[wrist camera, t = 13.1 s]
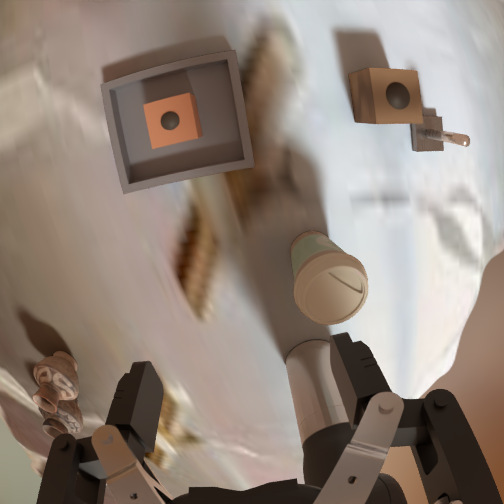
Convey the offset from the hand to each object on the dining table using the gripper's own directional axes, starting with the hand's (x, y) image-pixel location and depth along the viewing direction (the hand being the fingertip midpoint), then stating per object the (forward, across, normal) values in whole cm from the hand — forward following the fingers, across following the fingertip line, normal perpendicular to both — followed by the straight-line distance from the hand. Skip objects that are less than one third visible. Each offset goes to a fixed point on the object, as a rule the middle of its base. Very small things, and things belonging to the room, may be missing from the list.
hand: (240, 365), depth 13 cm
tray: (+28, +5, -11) cm, 31 cm away
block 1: (+27, +5, -11) cm, 30 cm away
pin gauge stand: (+28, -28, -6) cm, 40 cm away
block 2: (+28, -20, -11) cm, 36 cm away
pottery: (+28, +43, +31) cm, 60 cm away
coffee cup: (+28, -9, +9) cm, 31 cm away
